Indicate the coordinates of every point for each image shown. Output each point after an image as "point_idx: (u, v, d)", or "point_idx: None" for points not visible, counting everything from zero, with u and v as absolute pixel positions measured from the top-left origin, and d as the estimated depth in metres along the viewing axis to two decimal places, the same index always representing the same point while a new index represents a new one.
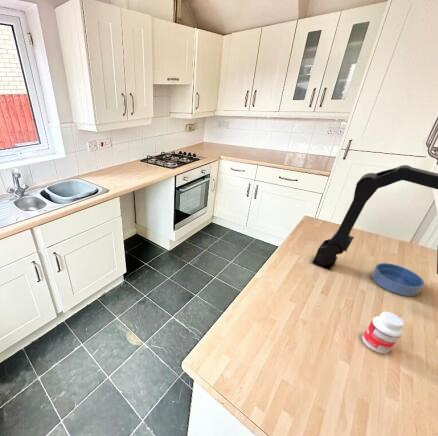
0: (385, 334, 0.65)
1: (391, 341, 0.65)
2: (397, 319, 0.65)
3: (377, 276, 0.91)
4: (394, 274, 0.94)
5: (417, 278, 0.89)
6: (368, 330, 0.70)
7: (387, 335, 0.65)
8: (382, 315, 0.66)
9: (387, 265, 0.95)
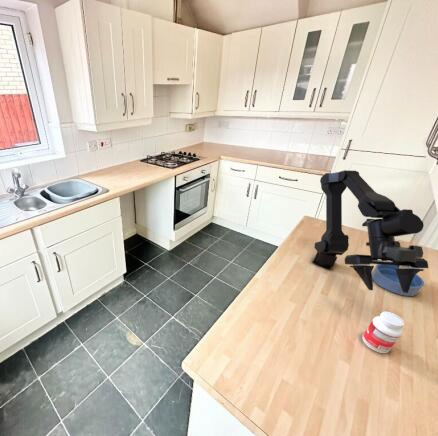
0: (385, 333, 0.65)
1: (391, 341, 0.65)
2: (397, 319, 0.65)
3: (377, 276, 0.91)
4: (394, 274, 0.94)
5: (417, 278, 0.89)
6: (368, 330, 0.70)
7: (387, 335, 0.65)
8: (382, 315, 0.66)
9: (387, 265, 0.95)
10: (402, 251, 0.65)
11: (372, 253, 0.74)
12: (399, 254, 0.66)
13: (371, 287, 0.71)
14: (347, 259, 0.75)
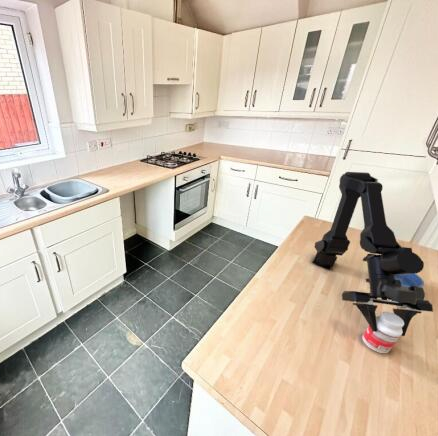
0: (385, 334, 0.65)
1: (391, 341, 0.65)
2: (397, 319, 0.65)
3: None
4: None
5: (417, 278, 0.89)
6: (368, 330, 0.70)
7: (387, 335, 0.65)
8: (382, 315, 0.66)
9: None
10: (400, 291, 0.62)
11: (371, 291, 0.70)
12: (397, 294, 0.62)
13: (375, 328, 0.67)
14: (344, 295, 0.72)
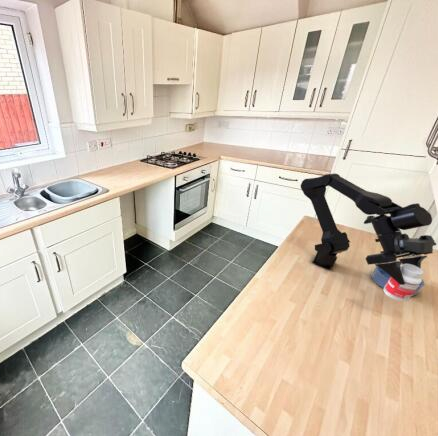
0: (412, 284, 0.72)
1: (415, 288, 0.73)
2: (415, 267, 0.73)
3: (377, 276, 0.91)
4: None
5: None
6: (392, 285, 0.76)
7: (414, 284, 0.72)
8: (405, 268, 0.73)
9: None
10: (423, 243, 0.68)
11: (387, 249, 0.76)
12: (421, 246, 0.69)
13: (403, 282, 0.73)
14: (370, 259, 0.75)
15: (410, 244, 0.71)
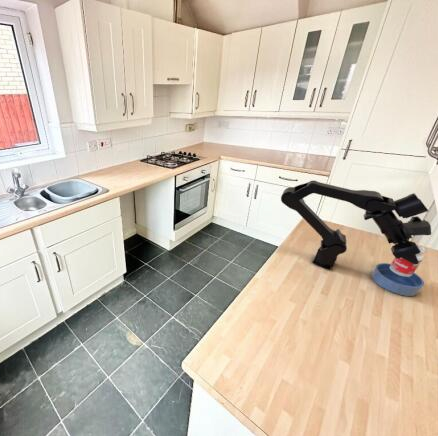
0: None
1: None
2: None
3: (377, 276, 0.91)
4: (394, 274, 0.94)
5: (417, 278, 0.89)
6: (405, 266, 0.85)
7: None
8: None
9: (387, 265, 0.95)
10: (430, 226, 0.78)
11: (397, 238, 0.83)
12: (430, 229, 0.78)
13: None
14: (400, 253, 0.79)
15: (419, 229, 0.79)
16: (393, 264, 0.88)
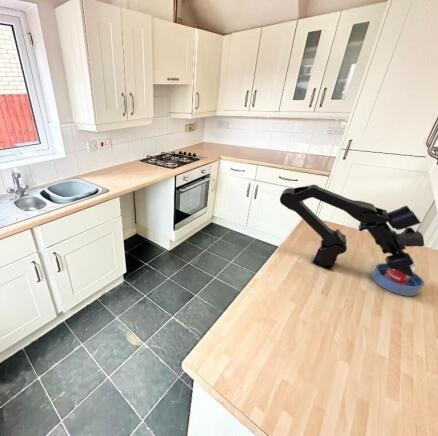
0: None
1: None
2: None
3: (377, 276, 0.91)
4: None
5: (417, 278, 0.89)
6: (398, 277, 0.87)
7: None
8: None
9: (387, 265, 0.95)
10: None
11: (391, 248, 0.85)
12: (422, 241, 0.80)
13: (413, 274, 0.83)
14: (394, 264, 0.81)
15: (412, 241, 0.81)
16: (386, 275, 0.91)
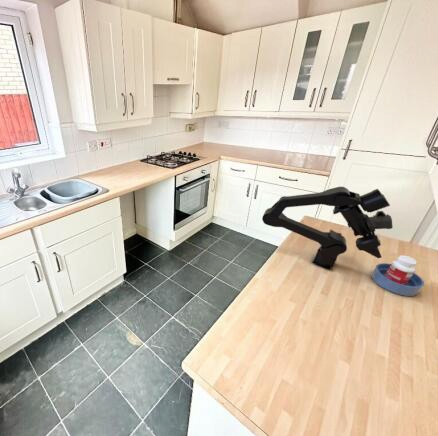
0: None
1: None
2: (407, 257, 0.87)
3: (377, 276, 0.91)
4: None
5: (417, 278, 0.89)
6: (398, 277, 0.87)
7: None
8: (406, 261, 0.85)
9: (387, 265, 0.95)
10: (391, 220, 0.83)
11: (361, 231, 0.88)
12: (391, 223, 0.83)
13: (380, 255, 0.87)
14: (363, 246, 0.84)
15: (382, 223, 0.84)
16: (386, 275, 0.91)
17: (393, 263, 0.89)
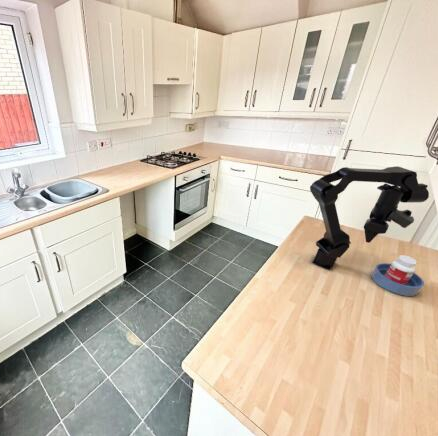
0: None
1: None
2: (407, 257, 0.87)
3: (377, 276, 0.91)
4: None
5: (417, 278, 0.89)
6: (398, 277, 0.87)
7: None
8: (406, 261, 0.85)
9: (387, 265, 0.95)
10: (412, 222, 0.84)
11: (380, 215, 0.89)
12: (409, 224, 0.85)
13: (370, 241, 0.92)
14: (371, 226, 0.87)
15: (402, 220, 0.86)
16: (386, 275, 0.91)
17: (393, 263, 0.89)
